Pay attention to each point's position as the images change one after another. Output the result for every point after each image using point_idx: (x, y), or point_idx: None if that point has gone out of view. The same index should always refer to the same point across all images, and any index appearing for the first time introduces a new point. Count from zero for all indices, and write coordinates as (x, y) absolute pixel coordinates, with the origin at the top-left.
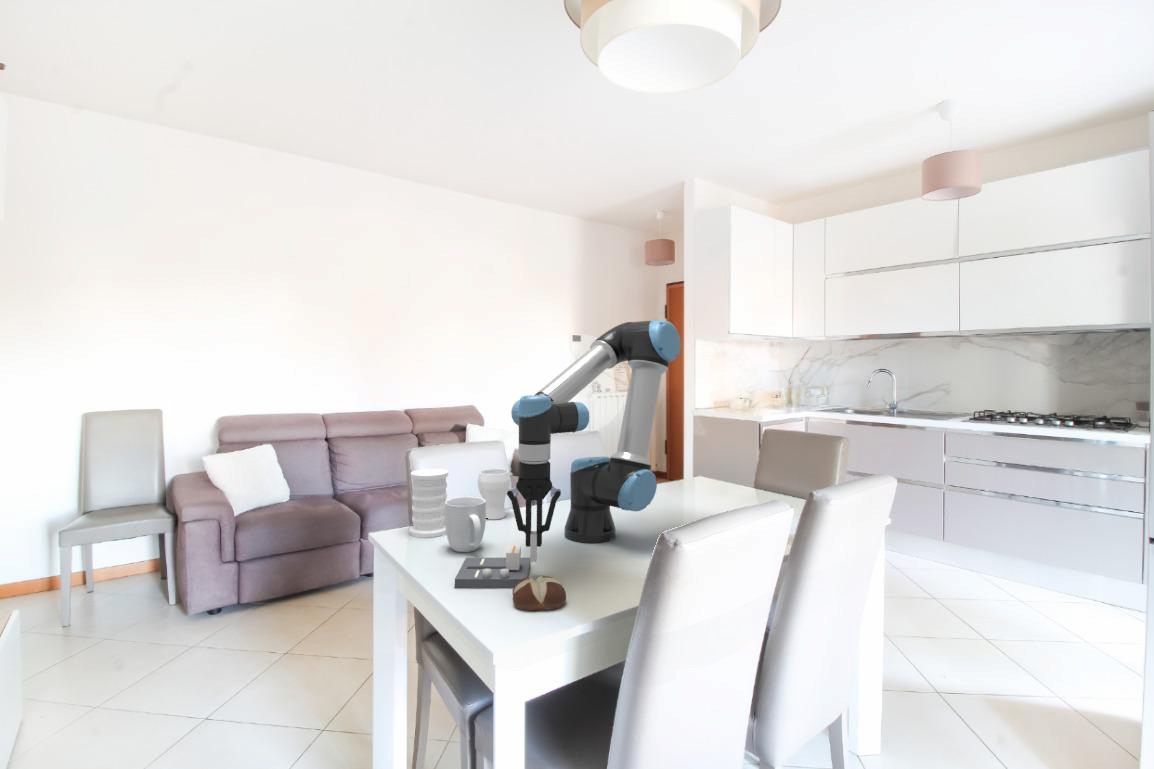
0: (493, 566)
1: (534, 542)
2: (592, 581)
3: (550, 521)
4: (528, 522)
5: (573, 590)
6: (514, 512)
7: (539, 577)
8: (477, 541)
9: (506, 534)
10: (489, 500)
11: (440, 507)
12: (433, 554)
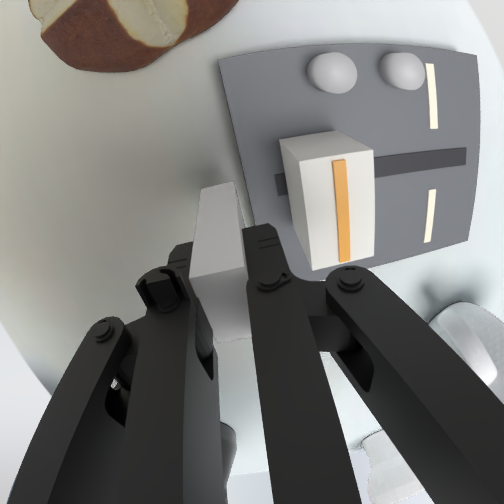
0: (392, 175)
1: (208, 236)
2: (23, 201)
3: (60, 386)
4: (281, 352)
5: (44, 107)
6: (489, 394)
7: (130, 16)
8: (451, 315)
9: (359, 404)
10: (398, 455)
11: None
12: (500, 273)
